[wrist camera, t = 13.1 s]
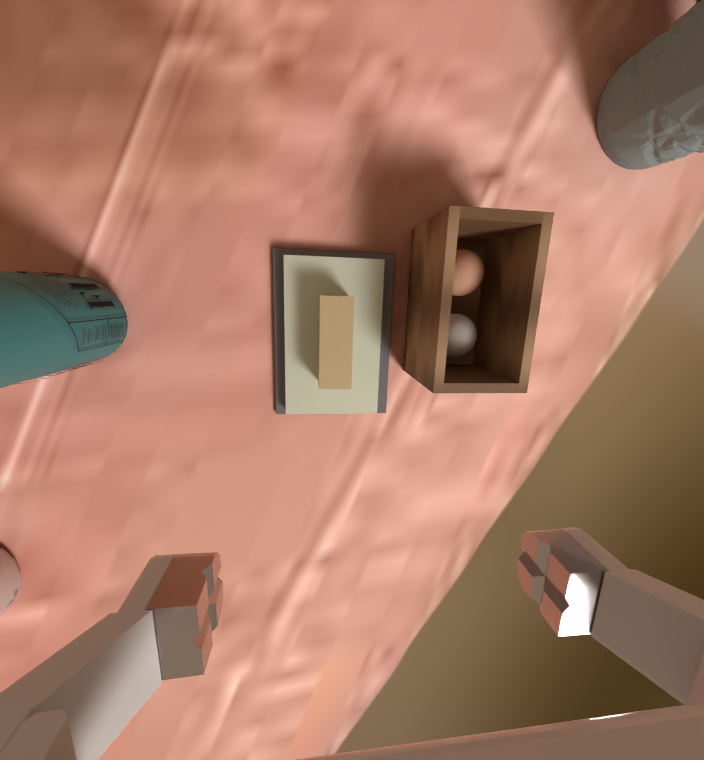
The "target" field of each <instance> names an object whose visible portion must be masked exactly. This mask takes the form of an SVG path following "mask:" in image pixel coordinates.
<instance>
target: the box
mask: <svg viewBox="0 0 704 760" xmlns="http://www.w3.org/2000/svg"><path fill="white" fill-rule="evenodd" d="M553 216H554V212H539V211H524V210H509V209H494V208H480V207H465V206H448V207H447V208H445V209H444V210H442V211H440V212H439V213H437V214H436V215H434V216H433V217H431V218H430V219H428V220H427V221H425V222H424V223H422V224H421V225H419V226H418V227H416V228H415V229H413V230H412V242H411V258H410V273H409V288H408V303H407V319H406V334H405V349H404V364H403V370H404V371H405V372H406V373H408V374H409V375H410V376H412V377H413V378H414V379H416V380H417V381H418V382H419V383H421V384H422V385H423V386H425V387H426V388H427V389H429V390H430V391H431V392H433V393H527V388H528V382H529V375H530V368H531V362H532V355H533V349H534V342H535V335H536V329H537V322H538V315H539V309H540V302H541V296H542V289H543V282H544V276H545V269H546V262H547V256H548V249H549V243H550V236H551V229H552V223H553ZM460 249H465V250H470V251H472V252H474V253H476V254H477V255H478V256H479V257H480V258H481V260H482V262H483V265H484V276H483V279H482V282H481V283H480V285H479V286H478V287H477V288H476V290H474V291H473V292H471V293H469V294H467V295H464V296H454V295H452V291H453V280H454V269H455V259H456V250H460ZM450 314H462V315H465V316H467V317H468V318H470V319H471V320H472V321H473V323H474V325H475V327H476V330H477V339H476V342H475V344H474V346H473V347H472V349H471V350H470V351H469V352H467V353H466V354H464V355H461V356H457V357H450V356H446V355H447V344H448V333H449V323H450Z"/></svg>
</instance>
